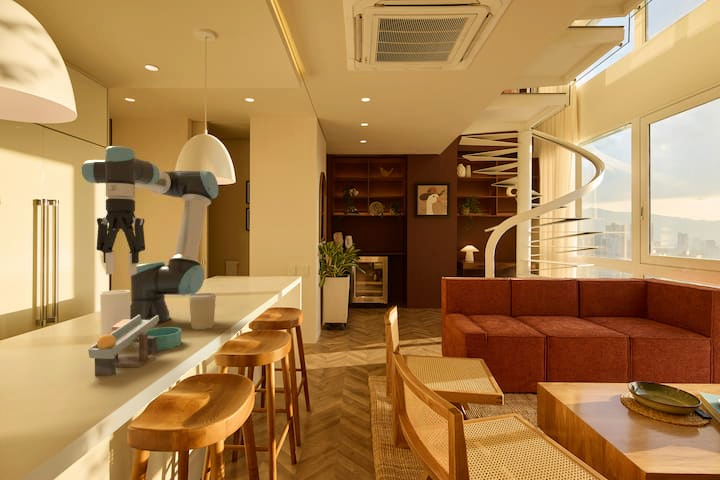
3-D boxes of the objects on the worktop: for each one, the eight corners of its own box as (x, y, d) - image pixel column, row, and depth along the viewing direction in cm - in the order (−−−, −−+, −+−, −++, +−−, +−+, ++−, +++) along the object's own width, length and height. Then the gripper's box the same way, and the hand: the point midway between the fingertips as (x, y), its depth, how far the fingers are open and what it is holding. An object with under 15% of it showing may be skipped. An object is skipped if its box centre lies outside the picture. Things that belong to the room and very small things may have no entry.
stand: (132, 350, 113) (132, 324, 112) (167, 351, 112) (167, 325, 112) (81, 374, 94) (81, 343, 94) (123, 376, 93) (123, 344, 93)
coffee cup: (207, 322, 147) (206, 292, 147) (221, 326, 142) (220, 294, 141) (184, 327, 140) (184, 295, 139) (198, 331, 134) (197, 298, 134)
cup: (136, 336, 127) (135, 290, 126) (118, 344, 118) (117, 294, 118) (113, 336, 127) (113, 289, 127) (94, 343, 119) (93, 293, 119)
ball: (106, 344, 97) (103, 331, 96) (121, 345, 97) (117, 331, 96) (95, 353, 94) (91, 339, 92) (110, 354, 93) (106, 340, 92)
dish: (156, 339, 124) (155, 326, 124) (187, 340, 123) (187, 327, 123) (133, 349, 113) (133, 336, 113) (168, 350, 112) (168, 337, 112)
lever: (124, 325, 113) (122, 314, 112) (160, 326, 112) (159, 315, 111) (71, 361, 94) (68, 348, 93) (114, 362, 93) (112, 349, 92)
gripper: (80, 197, 110) (81, 275, 111) (143, 197, 109) (143, 276, 109) (99, 199, 118) (100, 272, 118) (158, 199, 116) (159, 273, 117)
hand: (121, 274), depth 114 cm, fingers open, 6 cm apart
